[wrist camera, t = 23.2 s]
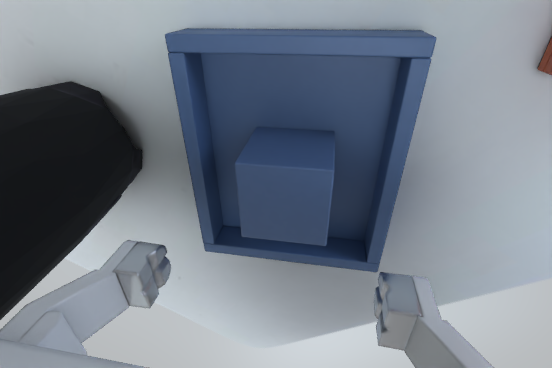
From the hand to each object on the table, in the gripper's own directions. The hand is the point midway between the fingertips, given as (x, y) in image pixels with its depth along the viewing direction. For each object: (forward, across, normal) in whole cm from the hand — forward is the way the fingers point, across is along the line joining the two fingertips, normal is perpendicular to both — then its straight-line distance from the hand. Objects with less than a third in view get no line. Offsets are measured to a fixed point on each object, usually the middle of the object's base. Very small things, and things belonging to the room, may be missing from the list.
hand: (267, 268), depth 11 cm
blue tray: (+9, 0, -1) cm, 9 cm away
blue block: (+8, 0, 0) cm, 8 cm away
